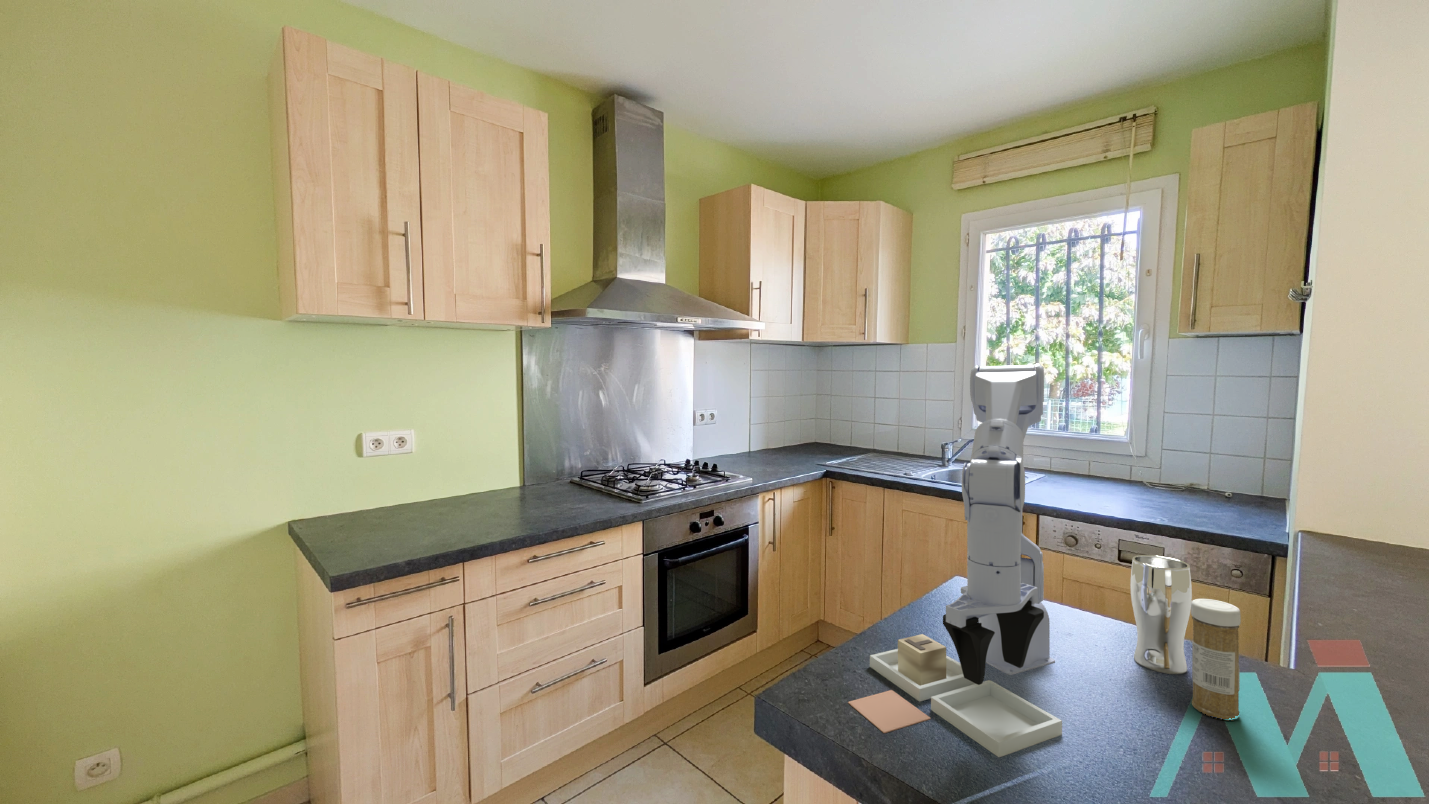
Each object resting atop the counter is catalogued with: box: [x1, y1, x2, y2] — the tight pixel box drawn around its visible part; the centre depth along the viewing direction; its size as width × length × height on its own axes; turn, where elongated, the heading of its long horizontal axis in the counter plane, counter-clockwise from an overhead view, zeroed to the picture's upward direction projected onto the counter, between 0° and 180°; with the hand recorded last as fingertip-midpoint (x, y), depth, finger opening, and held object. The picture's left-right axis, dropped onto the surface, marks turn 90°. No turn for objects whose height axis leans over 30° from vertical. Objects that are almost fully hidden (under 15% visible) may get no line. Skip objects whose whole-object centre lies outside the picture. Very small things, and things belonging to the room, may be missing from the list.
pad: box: [847, 689, 932, 734], centre depth 71 cm, size 7×7×1 cm
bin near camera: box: [930, 679, 1063, 758], centre depth 68 cm, size 10×10×2 cm
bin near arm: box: [869, 648, 975, 702], centre depth 79 cm, size 10×10×2 cm
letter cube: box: [897, 633, 947, 686], centre depth 79 cm, size 4×4×5 cm
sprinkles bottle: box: [1190, 598, 1242, 720], centre depth 70 cm, size 5×5×14 cm
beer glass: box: [1130, 554, 1193, 675], centre depth 82 cm, size 7×7×15 cm
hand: (993, 672), depth 68 cm, fingers open, 7 cm apart
